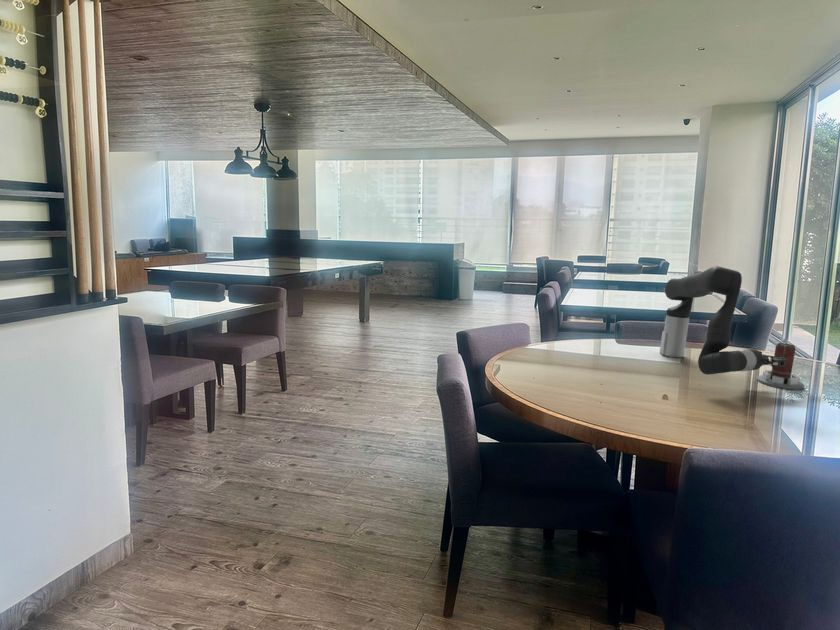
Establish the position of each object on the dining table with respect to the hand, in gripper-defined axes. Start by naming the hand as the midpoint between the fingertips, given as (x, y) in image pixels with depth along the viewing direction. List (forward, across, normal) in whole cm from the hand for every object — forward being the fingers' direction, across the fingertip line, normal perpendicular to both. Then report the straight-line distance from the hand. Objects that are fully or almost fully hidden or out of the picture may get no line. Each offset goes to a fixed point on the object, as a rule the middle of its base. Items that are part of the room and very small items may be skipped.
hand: (772, 357), depth 208 cm
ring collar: (+8, 0, +11) cm, 13 cm away
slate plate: (+8, 0, +11) cm, 13 cm away
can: (+7, 0, +10) cm, 12 cm away
